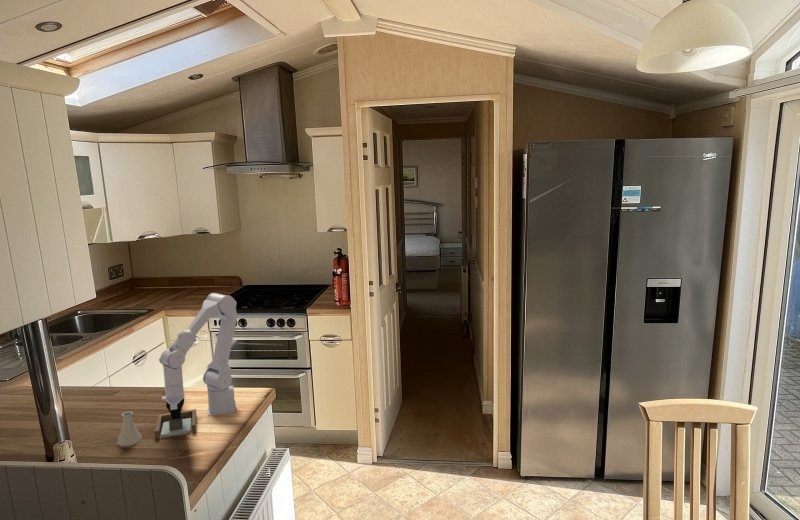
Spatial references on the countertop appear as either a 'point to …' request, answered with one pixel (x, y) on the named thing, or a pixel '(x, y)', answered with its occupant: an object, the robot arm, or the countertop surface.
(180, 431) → the cover plate
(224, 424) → the countertop surface
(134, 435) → the flask
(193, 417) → the box
